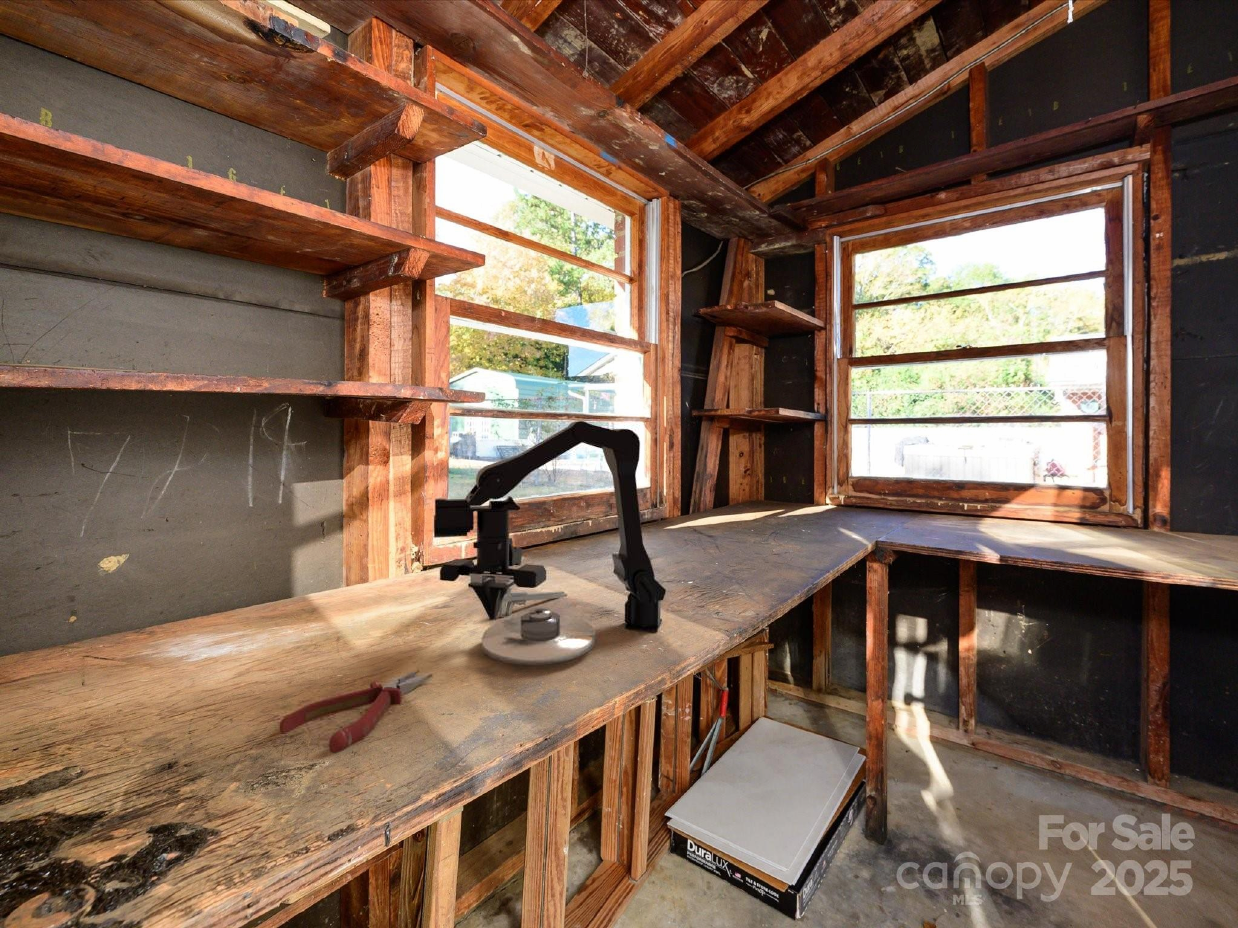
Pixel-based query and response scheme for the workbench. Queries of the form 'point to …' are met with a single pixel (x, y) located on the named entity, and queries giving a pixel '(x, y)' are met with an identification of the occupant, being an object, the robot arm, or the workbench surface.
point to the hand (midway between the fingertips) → (493, 619)
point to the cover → (540, 624)
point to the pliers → (368, 721)
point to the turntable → (538, 642)
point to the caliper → (524, 599)
